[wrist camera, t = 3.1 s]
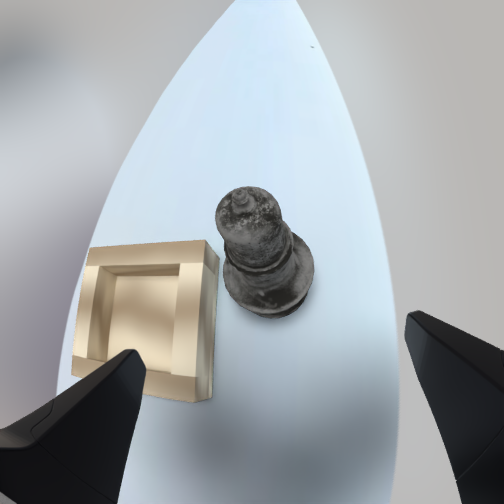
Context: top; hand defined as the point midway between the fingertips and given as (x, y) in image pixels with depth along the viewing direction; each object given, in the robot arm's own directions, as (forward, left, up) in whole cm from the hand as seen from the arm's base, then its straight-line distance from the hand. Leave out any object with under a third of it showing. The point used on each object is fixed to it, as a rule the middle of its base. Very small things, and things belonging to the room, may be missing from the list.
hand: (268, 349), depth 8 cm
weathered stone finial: (+4, +4, -12) cm, 13 cm away
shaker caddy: (-5, +10, -12) cm, 16 cm away
